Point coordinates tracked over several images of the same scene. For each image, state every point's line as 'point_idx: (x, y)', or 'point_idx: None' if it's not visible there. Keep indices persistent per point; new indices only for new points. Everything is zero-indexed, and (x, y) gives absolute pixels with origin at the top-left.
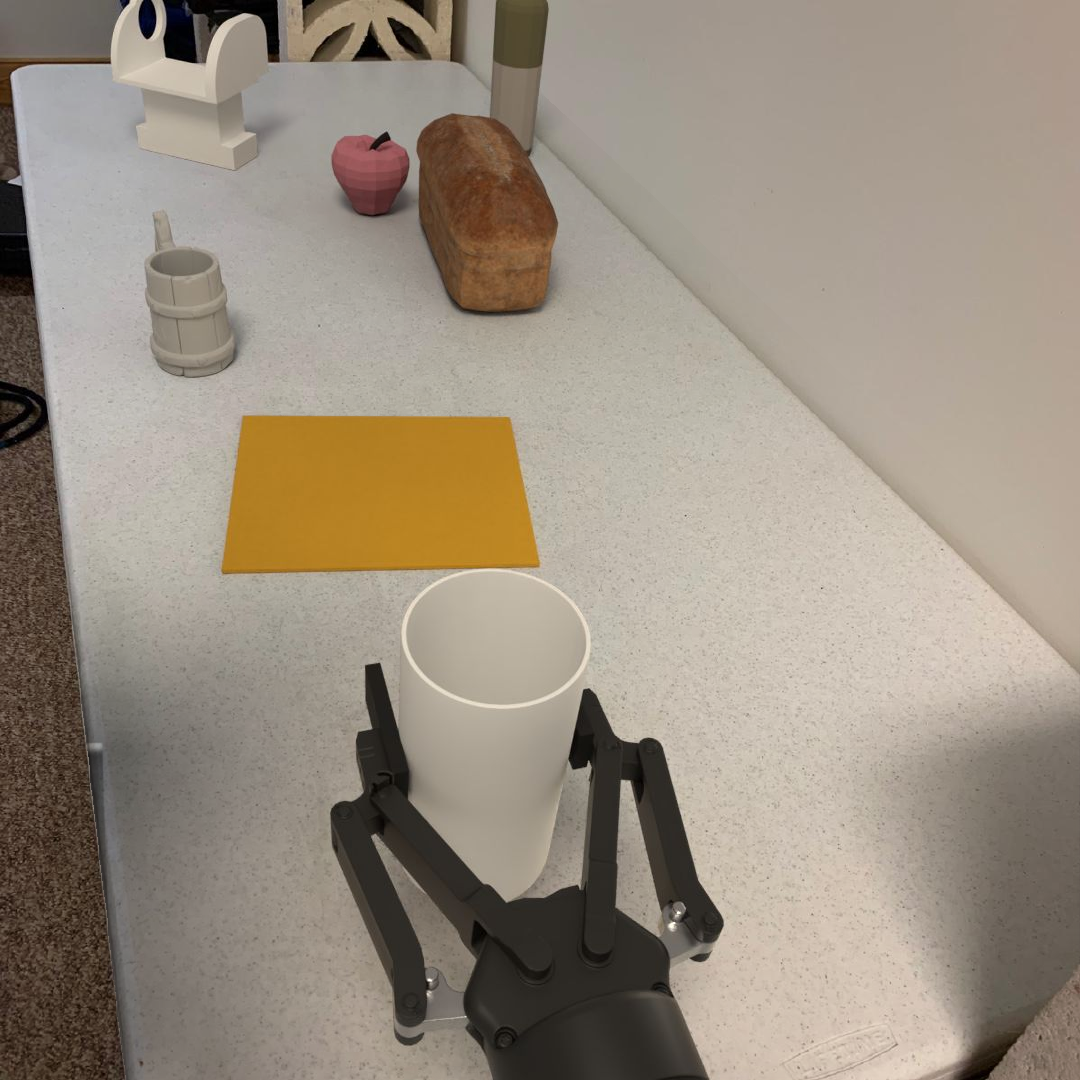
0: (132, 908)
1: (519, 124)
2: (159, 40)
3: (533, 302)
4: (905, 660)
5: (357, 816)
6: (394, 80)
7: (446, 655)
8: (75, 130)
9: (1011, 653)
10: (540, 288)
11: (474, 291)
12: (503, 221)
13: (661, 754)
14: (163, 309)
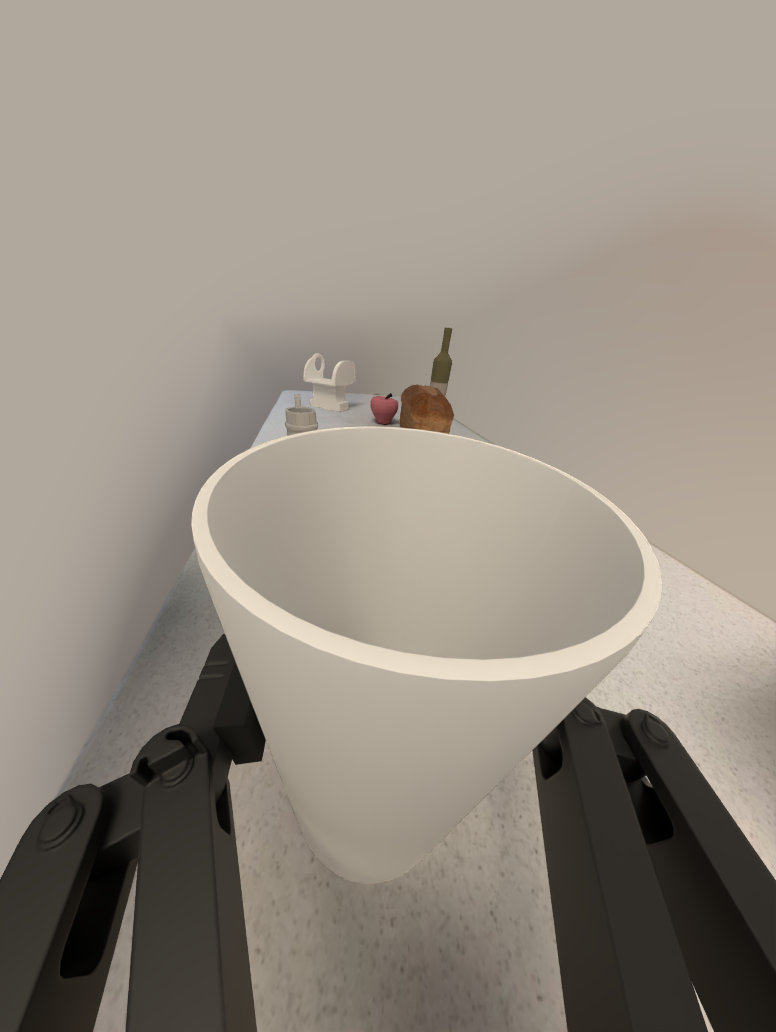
0: (90, 752)
1: None
2: (321, 371)
3: None
4: (679, 620)
5: (78, 843)
6: (397, 399)
7: (356, 553)
8: (292, 401)
9: (752, 625)
10: None
11: None
12: (432, 409)
13: (682, 752)
14: (290, 426)
